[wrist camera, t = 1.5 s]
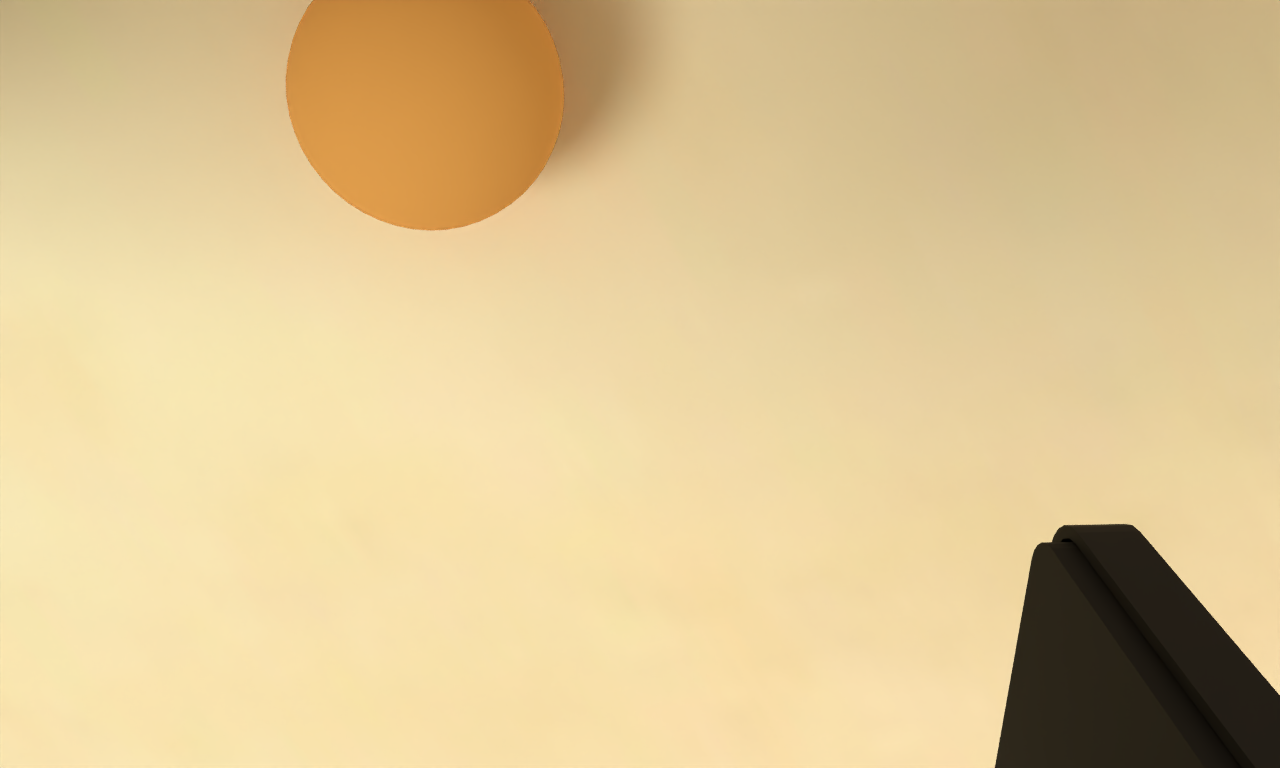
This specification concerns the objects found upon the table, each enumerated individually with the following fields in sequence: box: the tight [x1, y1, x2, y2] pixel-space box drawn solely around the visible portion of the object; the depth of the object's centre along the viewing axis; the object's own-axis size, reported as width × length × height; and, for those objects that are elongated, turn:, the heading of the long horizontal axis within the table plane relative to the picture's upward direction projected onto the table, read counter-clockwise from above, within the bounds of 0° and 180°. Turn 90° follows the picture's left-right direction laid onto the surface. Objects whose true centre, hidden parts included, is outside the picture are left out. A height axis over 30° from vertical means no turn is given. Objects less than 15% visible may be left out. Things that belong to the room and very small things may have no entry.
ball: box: [286, 0, 564, 230], centre depth 25 cm, size 6×6×6 cm
